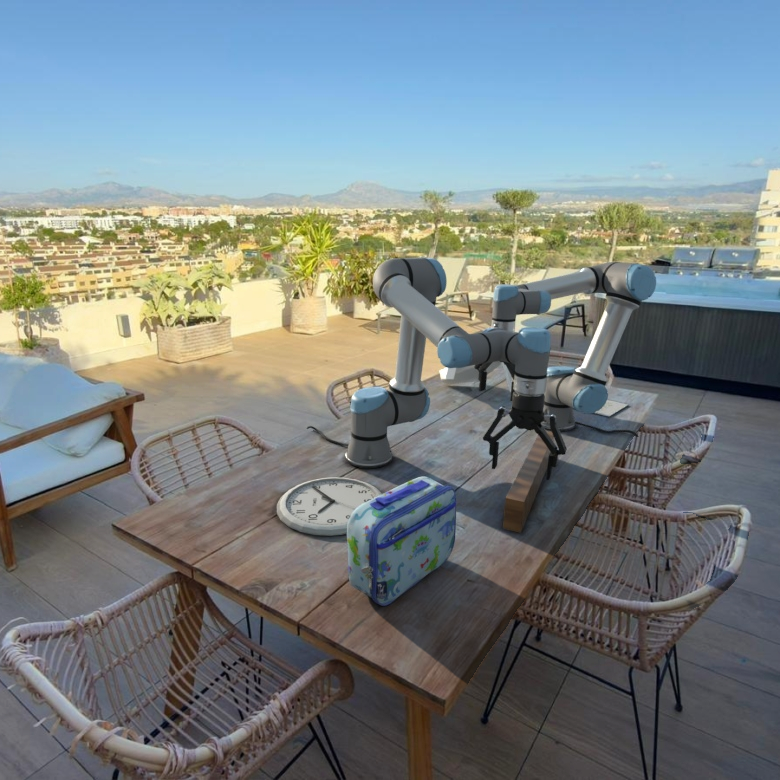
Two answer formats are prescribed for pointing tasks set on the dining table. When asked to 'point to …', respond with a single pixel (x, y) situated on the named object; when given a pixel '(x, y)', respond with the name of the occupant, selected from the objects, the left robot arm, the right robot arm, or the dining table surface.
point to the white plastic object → (470, 374)
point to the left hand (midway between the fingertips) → (520, 472)
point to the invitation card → (610, 408)
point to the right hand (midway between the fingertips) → (497, 395)
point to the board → (526, 486)
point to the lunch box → (400, 538)
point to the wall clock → (324, 504)
